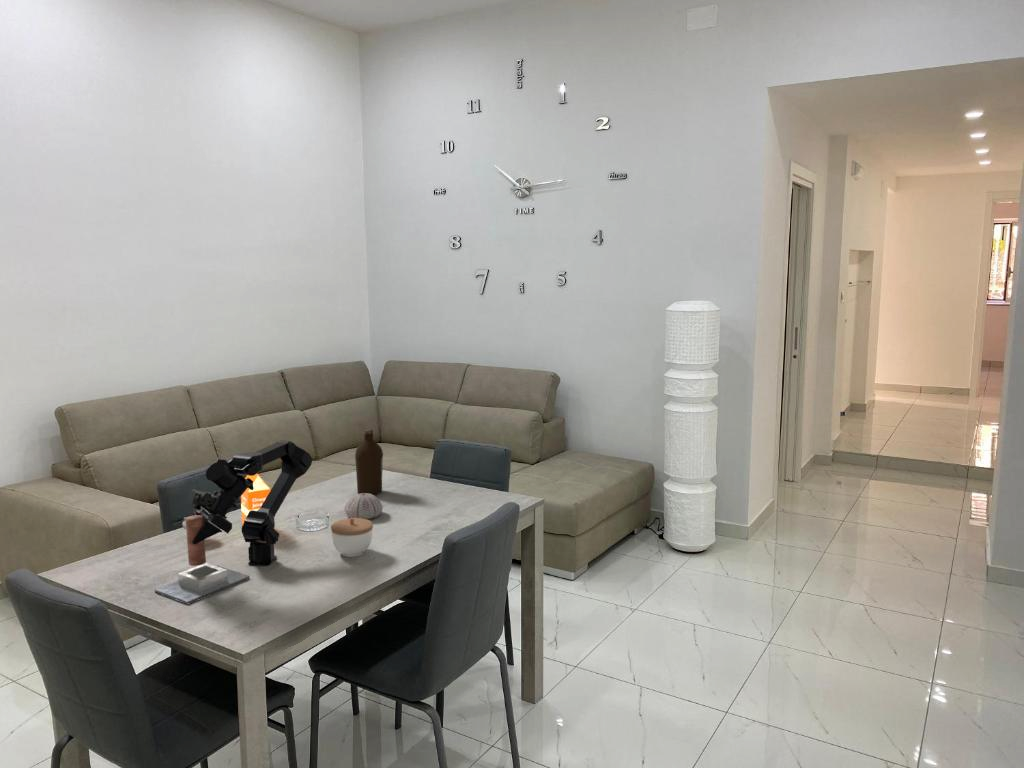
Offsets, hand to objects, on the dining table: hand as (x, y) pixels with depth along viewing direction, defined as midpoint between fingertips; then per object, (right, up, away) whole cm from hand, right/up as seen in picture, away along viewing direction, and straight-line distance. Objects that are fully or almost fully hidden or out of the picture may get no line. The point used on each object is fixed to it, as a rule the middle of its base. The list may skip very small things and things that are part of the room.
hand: (190, 541), depth 211 cm
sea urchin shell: (+36, -4, +62) cm, 71 cm away
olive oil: (+33, +1, +89) cm, 95 cm away
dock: (+3, -13, +2) cm, 13 cm away
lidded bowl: (+39, -9, +27) cm, 48 cm away
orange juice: (+3, -6, +47) cm, 47 cm away
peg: (+1, -6, +2) cm, 7 cm away
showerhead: (-13, -7, +36) cm, 39 cm away
